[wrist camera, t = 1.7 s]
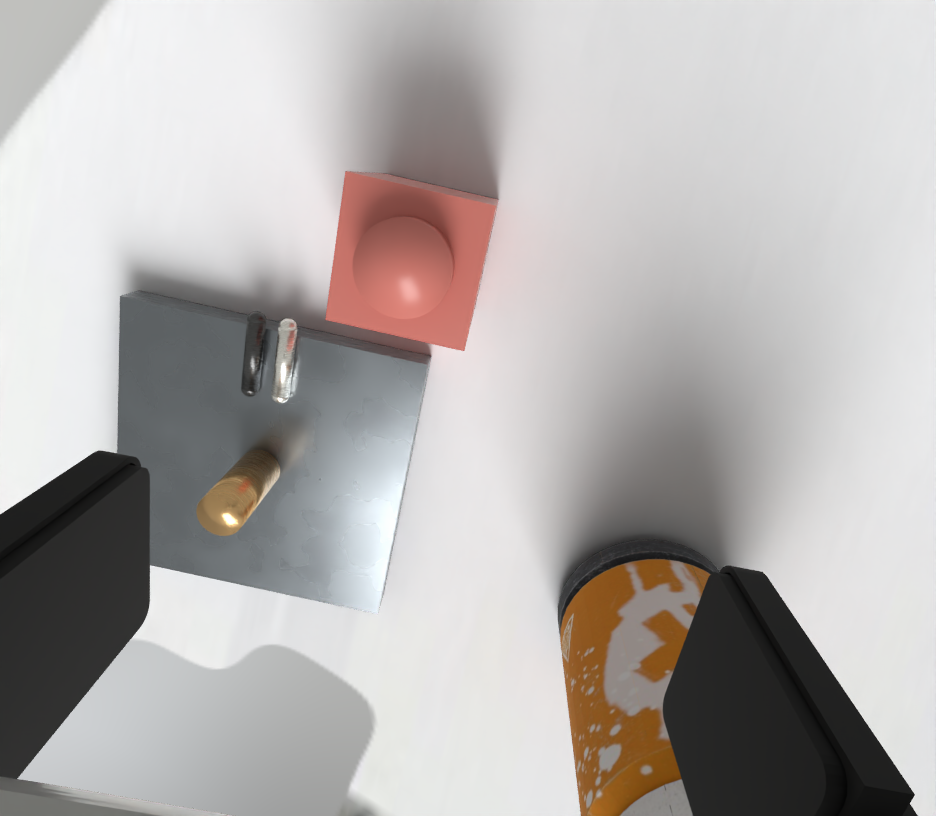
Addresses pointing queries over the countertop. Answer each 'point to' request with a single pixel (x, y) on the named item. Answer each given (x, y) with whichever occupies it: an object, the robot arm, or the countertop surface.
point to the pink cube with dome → (409, 258)
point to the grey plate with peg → (267, 447)
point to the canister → (627, 672)
